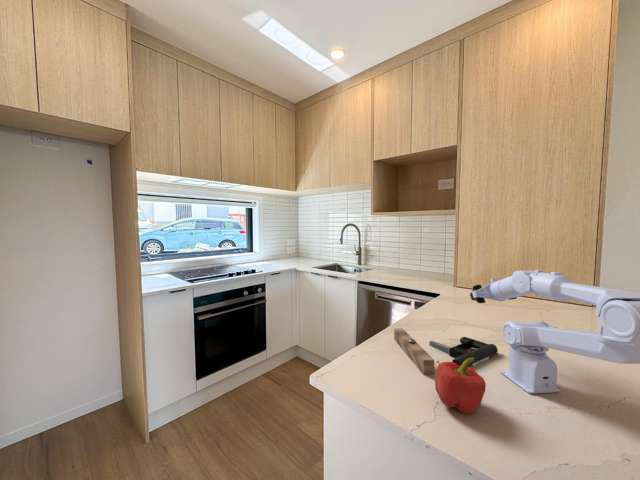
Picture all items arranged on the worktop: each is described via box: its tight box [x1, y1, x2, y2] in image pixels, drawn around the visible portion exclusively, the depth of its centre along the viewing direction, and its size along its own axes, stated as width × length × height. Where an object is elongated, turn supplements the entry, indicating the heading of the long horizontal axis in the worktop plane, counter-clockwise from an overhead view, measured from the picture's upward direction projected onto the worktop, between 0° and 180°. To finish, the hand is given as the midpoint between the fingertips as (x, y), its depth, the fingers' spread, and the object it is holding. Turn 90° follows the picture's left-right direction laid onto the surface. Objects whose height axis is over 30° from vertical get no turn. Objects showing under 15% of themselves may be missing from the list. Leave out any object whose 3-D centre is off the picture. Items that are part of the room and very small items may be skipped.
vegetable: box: [434, 358, 487, 414], centre depth 60 cm, size 11×10×10 cm
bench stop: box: [393, 327, 435, 375], centre depth 83 cm, size 22×3×5 cm, turn 5°
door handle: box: [428, 336, 498, 367], centre depth 85 cm, size 3×20×16 cm
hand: (482, 295), depth 89 cm, fingers open, 7 cm apart
